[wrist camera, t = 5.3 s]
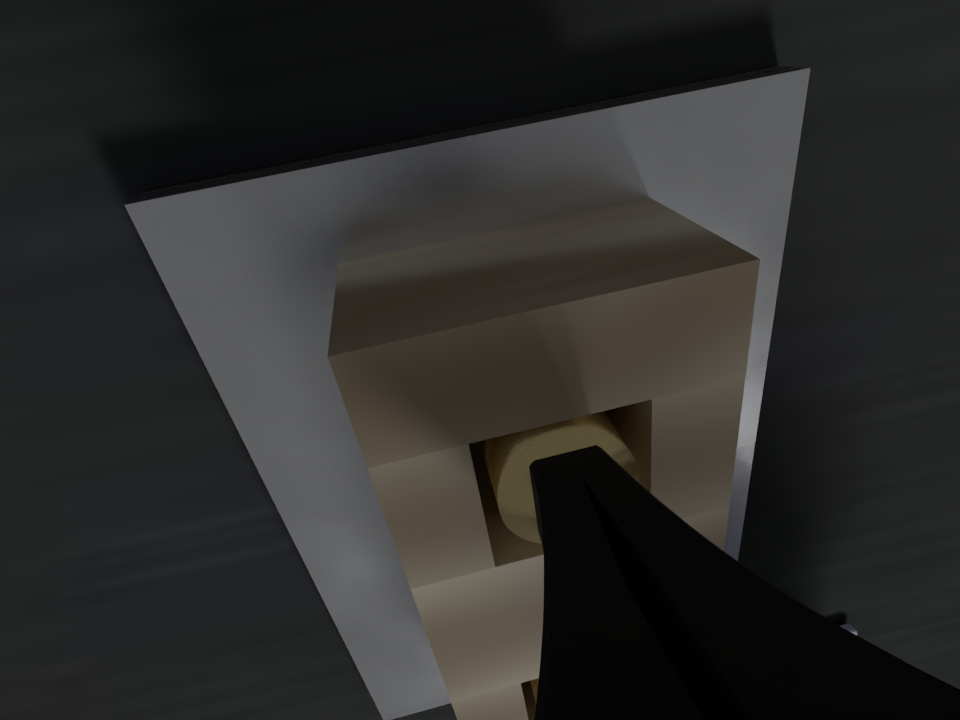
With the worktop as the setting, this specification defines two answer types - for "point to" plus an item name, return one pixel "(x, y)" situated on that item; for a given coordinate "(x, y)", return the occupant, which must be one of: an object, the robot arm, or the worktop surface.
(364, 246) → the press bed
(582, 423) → the pin
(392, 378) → the housing
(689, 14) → the worktop surface
